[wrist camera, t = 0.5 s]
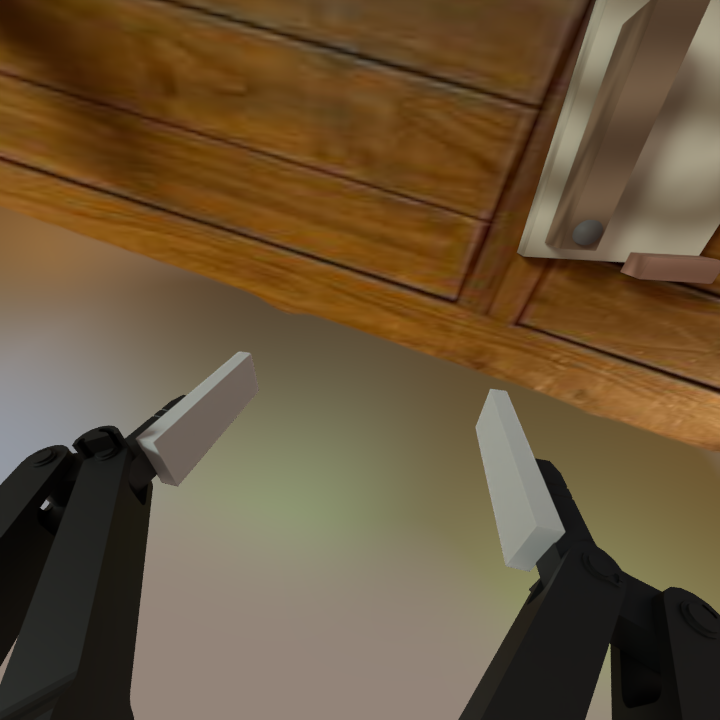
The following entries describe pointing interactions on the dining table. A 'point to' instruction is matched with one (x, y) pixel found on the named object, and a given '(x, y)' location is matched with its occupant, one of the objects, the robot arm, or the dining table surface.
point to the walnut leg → (623, 118)
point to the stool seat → (645, 161)
